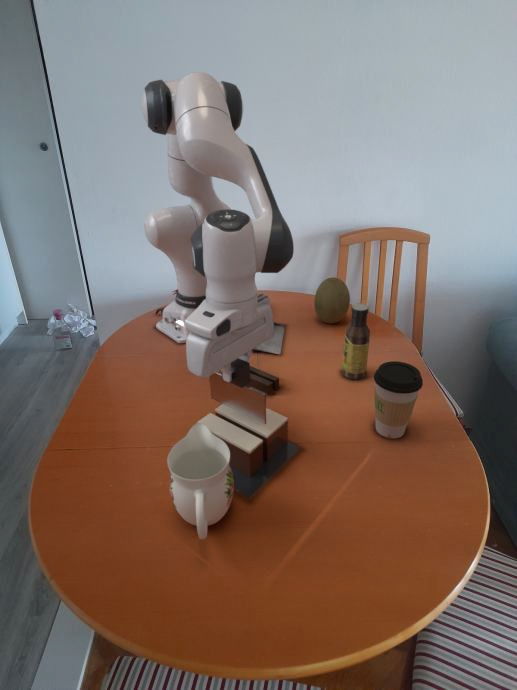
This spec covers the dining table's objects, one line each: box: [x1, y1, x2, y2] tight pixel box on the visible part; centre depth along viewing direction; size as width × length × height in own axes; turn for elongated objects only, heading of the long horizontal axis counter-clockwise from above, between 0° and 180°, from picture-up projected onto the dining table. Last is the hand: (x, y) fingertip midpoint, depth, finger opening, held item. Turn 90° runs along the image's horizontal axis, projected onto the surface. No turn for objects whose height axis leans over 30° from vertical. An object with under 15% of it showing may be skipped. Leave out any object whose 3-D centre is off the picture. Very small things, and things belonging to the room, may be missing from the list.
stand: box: [220, 365, 280, 396], centre depth 116 cm, size 16×4×3 cm, turn 52°
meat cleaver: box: [252, 322, 286, 355], centre depth 142 cm, size 34×11×4 cm, turn 173°
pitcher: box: [166, 422, 235, 540], centre depth 76 cm, size 11×18×14 cm, turn 6°
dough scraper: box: [208, 358, 267, 425], centre depth 85 cm, size 14×2×11 cm, turn 52°
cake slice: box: [196, 412, 263, 477], centre depth 90 cm, size 14×4×7 cm, turn 52°
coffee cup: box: [373, 360, 424, 439], centre depth 95 cm, size 10×10×15 cm
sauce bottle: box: [341, 302, 371, 380], centre depth 113 cm, size 6×6×20 cm
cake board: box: [214, 403, 301, 499], centre depth 91 cm, size 20×17×7 cm
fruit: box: [313, 277, 351, 325], centre depth 142 cm, size 11×11×15 cm
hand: (235, 375), depth 84 cm, fingers closed on dough scraper, 2 cm apart
